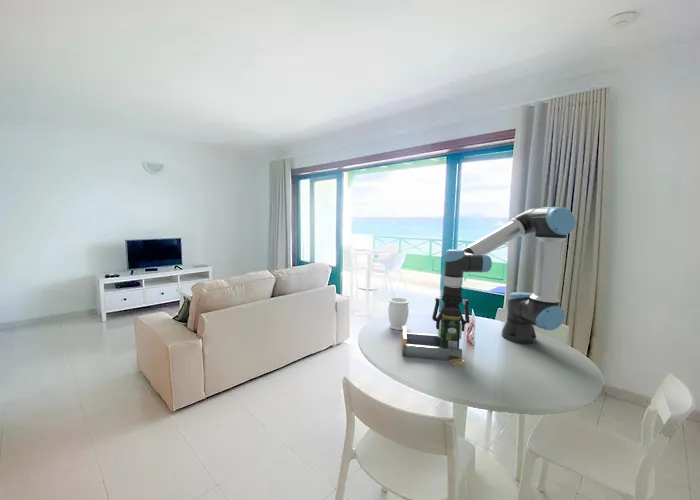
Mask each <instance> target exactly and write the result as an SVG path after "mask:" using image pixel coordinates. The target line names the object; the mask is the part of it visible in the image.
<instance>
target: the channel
mask: <svg viewBox="0 0 700 500" xmlns="http://www.w3.org/2000/svg"><path fill="white" fill-rule="evenodd" d="M401 331H402V335H401V349H402V350H401V352H402V353H401V356H402V357H406V358H415V359H426V360H436V361H437V360H438V361H448V362H449V361H450V360H452V359H458V358H461V359H463V349H462V348H459V349H458V348H447V347H441V345H440V338H439V337H438V334H431V333H430V334H429V333H419V332H418V333H416V332H407V326H406V325H405V326H403V330H401Z"/></svg>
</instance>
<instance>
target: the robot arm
mask: <svg viewBox="0 0 700 500" xmlns="http://www.w3.org/2000/svg"><path fill="white" fill-rule="evenodd" d="M575 226H576V219H575V215H574V214H573V212H571V210H570V209H568V208H566V207H564V206H542V207H541V206H540V207H533V208H529V209H527V210H525V211H523V212H521V213H519V214H517V215H516V216H514V217H512V218H510V219H509V220H508V222H507V223H506V224H504V225H503V226H501V227H499V228H497V229H495V230H494V231H492V232H491V233H488V234H487V235H485V236H483V237H482V238H480V239H478V240H477V241H475V242H473V243H471V244H470V245H468V246H466V247H464V248H462V249H447V250H446V252H445V258H444V276H443V277H444V278H443V284H444V285H443V287H442V288H443V291H442V296H441V297H437V296H436V297H435V299H434V300H435V303H434V309H433V313H432V317H431V318H432V320H433V321H434V322H436V324H435V327H436V330H438V331H437V335H438V337H439V338H441V318H442V311H443V310H442V308H441V309H440V311H439V308H440V304H441V302H443V305H442V306H443V307H444V308H447V307H448V306H454V307H456V308H458V309H461V308H460V305H461V304H463V308H464V317H463V313H462V312H461V321H460V336H459V340H462V335H463V333H462V332H465V328H466V327H465V326H466V324H470V313H469V304H470V301H469V300H468V299H466V298H465V299H464V298H463V297H462V295H463V281H464V279H463V277H464V273H481V274H483V273H488V272H489V271H491V269H492V263H493V261H492V258H491V256H489V255H488V254H489V253H491V252H493V251H495V250H496V249H498V248H500V247H502V246H504V245H505V244H507V243H509V242H510V241H512V240H514V239H515V238H517V237H520V238H521V237H523V236H526V235H528V234H533V233H535V234H534V238H536V240H537V241H538V244H537V255H536V265H535V277H534V286H533V292H525V291H524V292H523V291H514V292H513V291H511V292H510V293H509V295H508V300H507V315H506V322H505V324H504V326H503V328H502V330H501V336H502V337H503V338H505V339H506V340H508V341H511V342H515V343H518V344H526V345H528V344H535V343H536V342H537V333H536V330H535V327H537V328H539V329H541V330H542V329H543V330H545V331H554V330H557V329H558V328H559V327H561V326H562V325H563V324H564V321H565V318H566V313H565V310H564V309H563V308H562V307H561V306H560V304H561V301H560V299H559V298H558V296H557V294H558V293H557V290H558V281H559V273H560V272H559V271H560V265H561V264H560V263H561V252H562V243H563V242H564V241H565V240H567V235H568V234H571V232H572V231H573V230H574V228H575ZM438 312H439V313H438ZM534 326H535V327H534Z"/></svg>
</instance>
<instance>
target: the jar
mask: <svg viewBox="0 0 700 500" xmlns="http://www.w3.org/2000/svg"><path fill="white" fill-rule="evenodd" d="M388 302H389V303H388V304H389V305H388V309H387V311H388V321H389V323H390V325H389V328H390V329H393V330H397V331H402V330H403V326H406V325H407V322H408V317H409V303H410V300H409V299H406V298H404V297H391V298H389V299H388Z"/></svg>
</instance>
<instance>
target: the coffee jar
mask: <svg viewBox="0 0 700 500" xmlns="http://www.w3.org/2000/svg"><path fill="white" fill-rule="evenodd" d="M441 309H442V310H443V311H442V318H441V320H440V321H441V338H440V345H441V347H447V348H458V349H460V348H459V347H460V339H459V336H460V323H461V313H462V309H461V308H460V309H458V308H456V307H454V306H448V307H447V308H444V307H443V305H442V306H441Z"/></svg>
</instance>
